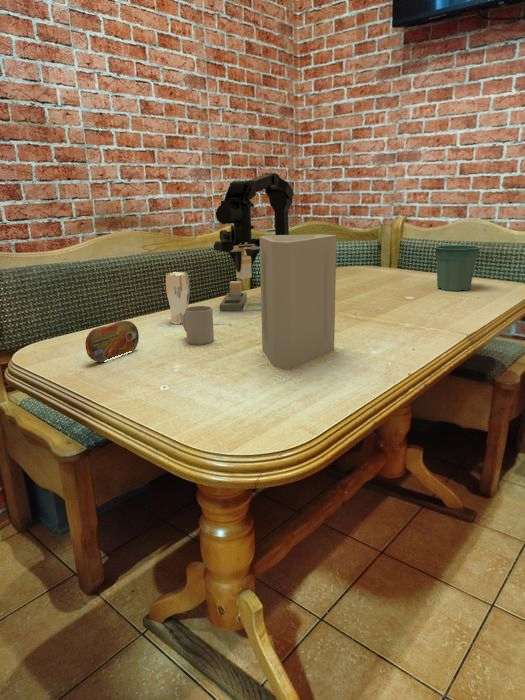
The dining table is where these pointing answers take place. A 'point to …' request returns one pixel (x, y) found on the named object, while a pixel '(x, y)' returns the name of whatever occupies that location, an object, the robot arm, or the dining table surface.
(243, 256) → the plug
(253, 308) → the tray
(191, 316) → the cup
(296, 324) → the taupe rounded pillar
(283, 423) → the dining table surface
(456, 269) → the flower pot
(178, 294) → the beer glass
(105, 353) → the tin
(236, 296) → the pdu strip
